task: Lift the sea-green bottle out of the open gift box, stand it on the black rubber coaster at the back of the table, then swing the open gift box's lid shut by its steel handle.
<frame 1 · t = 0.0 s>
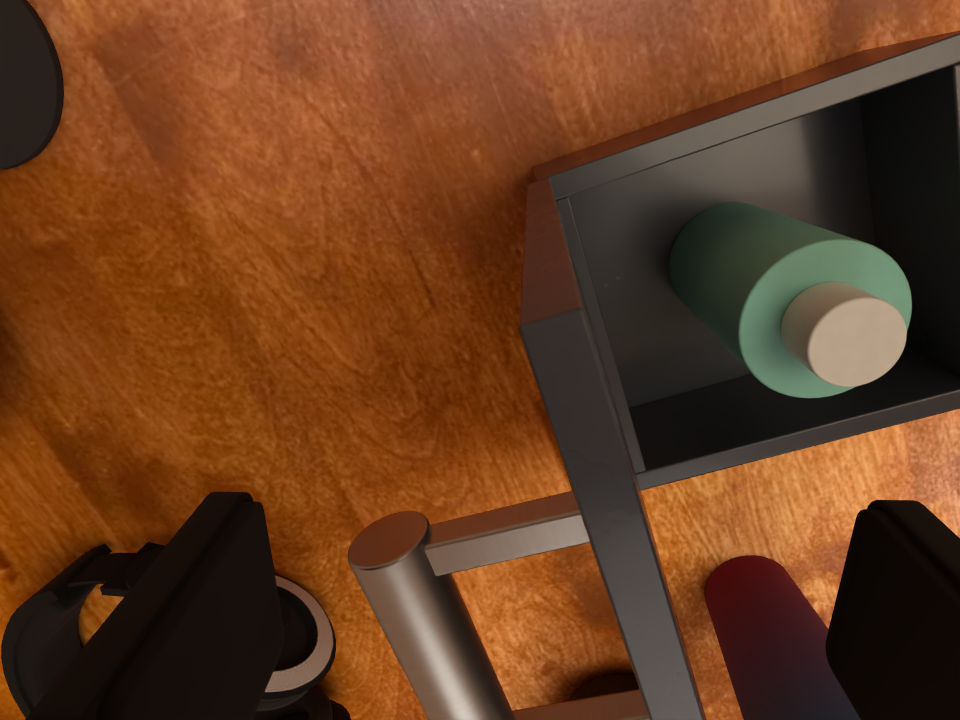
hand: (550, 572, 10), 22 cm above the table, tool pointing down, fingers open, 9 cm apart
open gift box: (721, 257, 29), on the table
cola bottle: (617, 705, 41), on the table
bottle: (727, 261, 29), point 1 cm above the table, touching open gift box
cup: (745, 587, 37), on the table
lid: (533, 480, 17), point 15 cm above the table, hinge at 92.0°
headphones: (207, 637, 40), on the table
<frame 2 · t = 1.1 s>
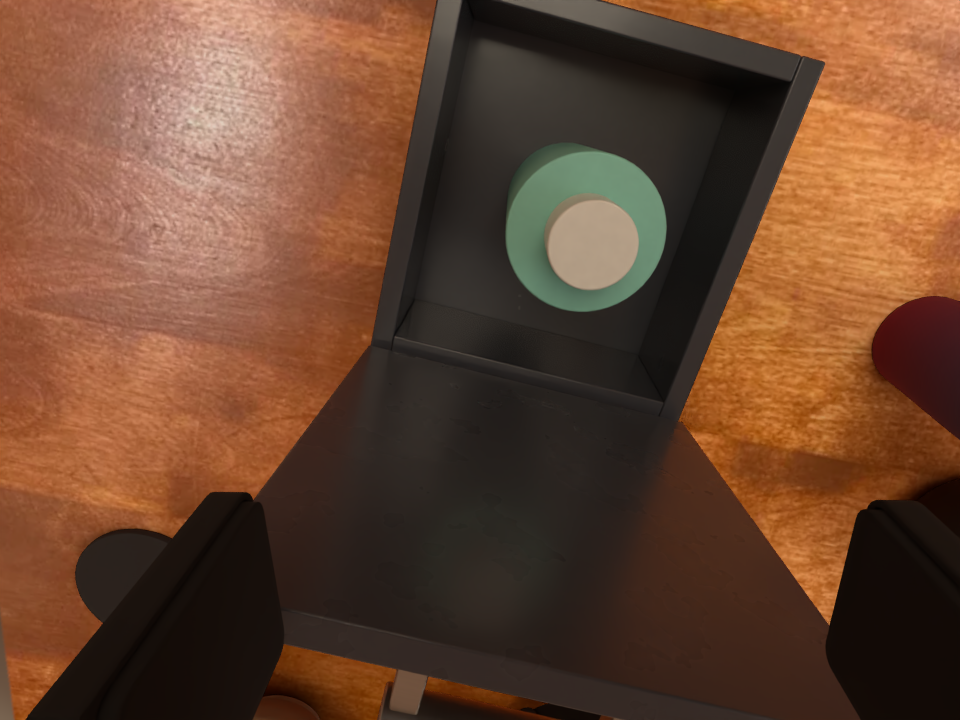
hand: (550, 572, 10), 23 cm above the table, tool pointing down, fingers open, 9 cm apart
coaster: (147, 585, 40), on the table
open gift box: (561, 199, 30), on the table
cola bottle: (954, 522, 36), on the table
bottle: (563, 202, 29), point 1 cm above the table, touching open gift box
cup: (919, 341, 32), on the table
lid: (515, 544, 19), point 15 cm above the table, hinge at 86.0°
bowl: (286, 717, 45), on the table
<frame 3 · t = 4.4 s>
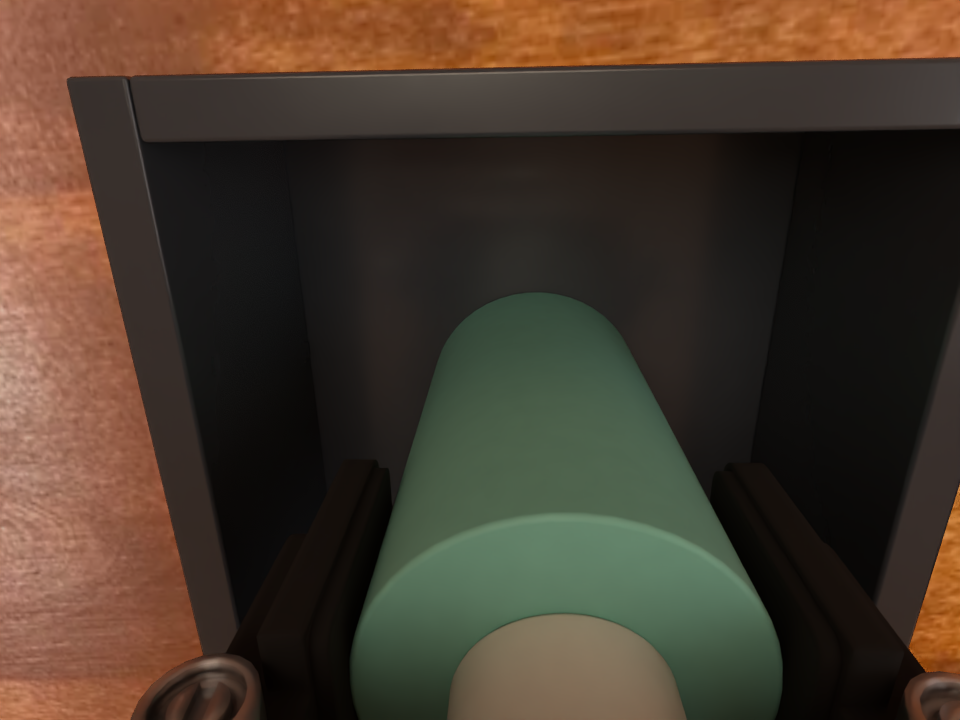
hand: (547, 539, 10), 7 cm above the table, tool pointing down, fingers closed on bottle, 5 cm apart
open gift box: (532, 375, 17), on the table
bottle: (534, 388, 16), point 1 cm above the table, touching gripper, open gift box
when the fingers open (7 cm above the table, at t = 15.8 s): bottle stays where it is, resting on coaster.
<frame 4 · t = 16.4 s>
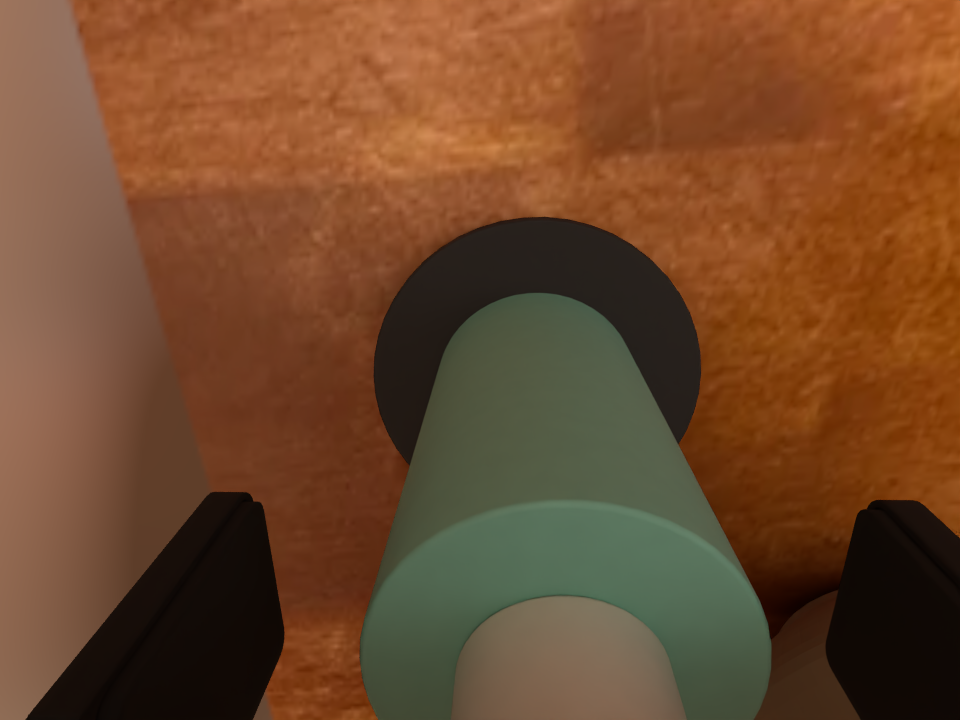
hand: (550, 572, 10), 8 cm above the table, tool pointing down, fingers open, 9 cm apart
coaster: (534, 377, 17), on the table
bottle: (535, 386, 17), resting on coaster
bowl: (843, 644, 20), on the table
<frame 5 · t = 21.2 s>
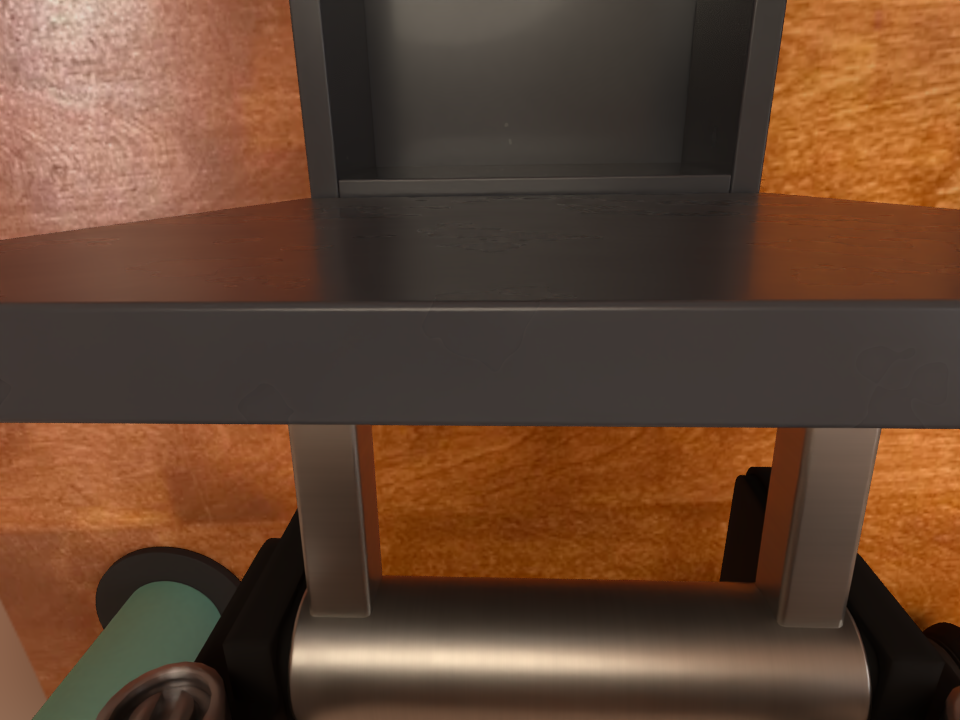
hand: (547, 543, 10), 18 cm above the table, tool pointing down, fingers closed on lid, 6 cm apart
coaster: (179, 611, 35), on the table
bottle: (175, 618, 34), resting on coaster
lid: (543, 356, 12), point 15 cm above the table, hinge at 86.0°, touching gripper
headphones: (772, 699, 35), on the table
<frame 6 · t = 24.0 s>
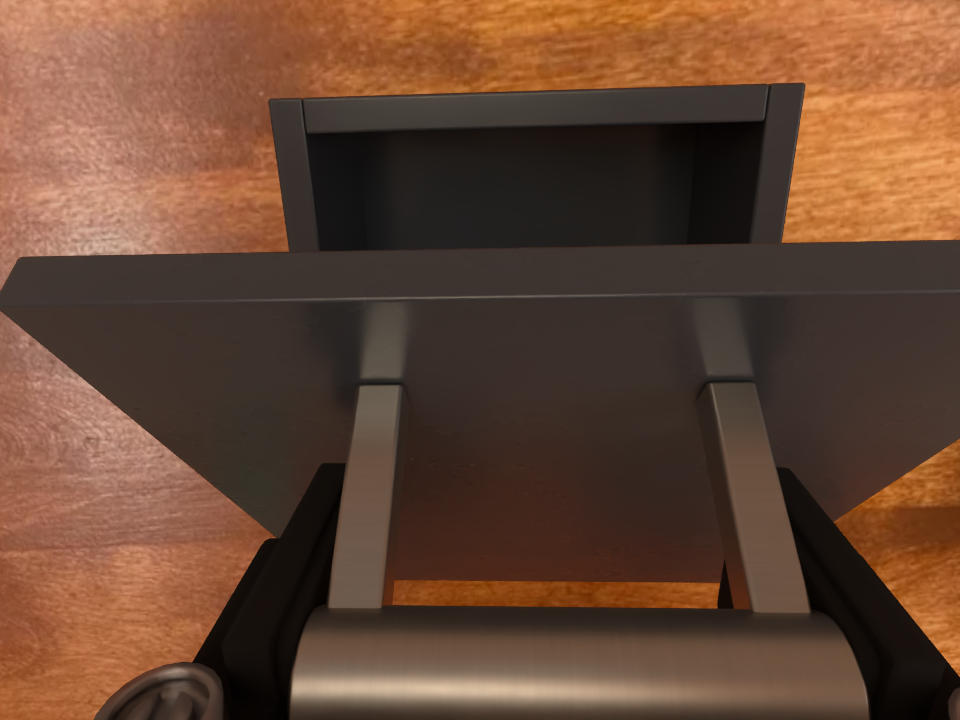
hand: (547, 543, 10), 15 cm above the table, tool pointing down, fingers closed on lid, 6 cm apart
open gift box: (524, 298, 25), on the table
lid: (541, 597, 13), point 14 cm above the table, hinge at 37.3°, touching gripper
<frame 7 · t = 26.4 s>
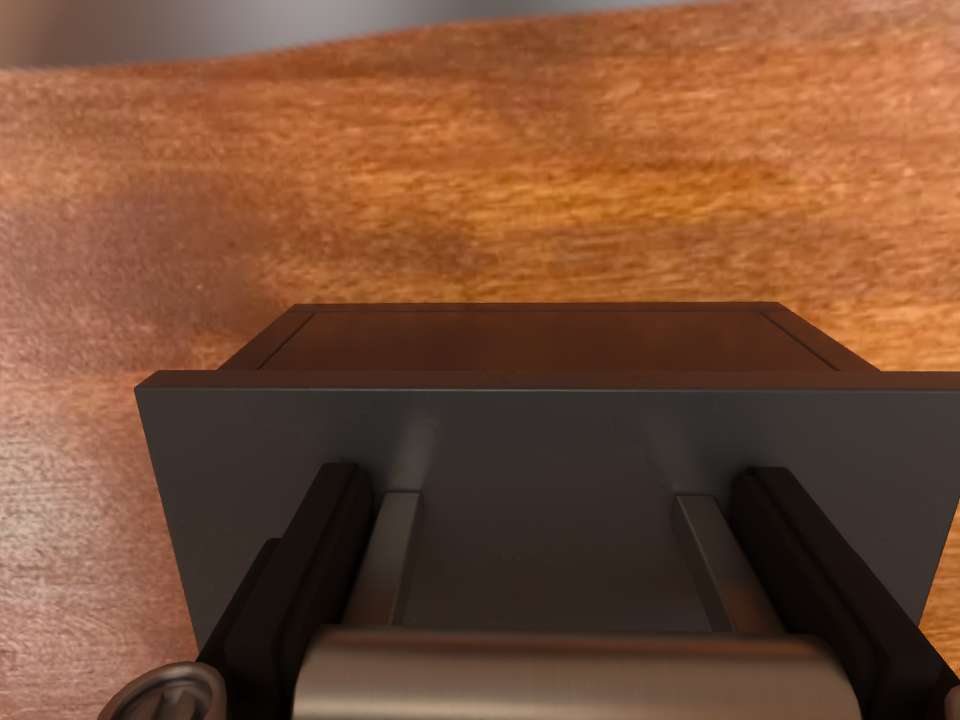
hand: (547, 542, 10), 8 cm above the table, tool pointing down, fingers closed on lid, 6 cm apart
open gift box: (528, 519, 20), on the table
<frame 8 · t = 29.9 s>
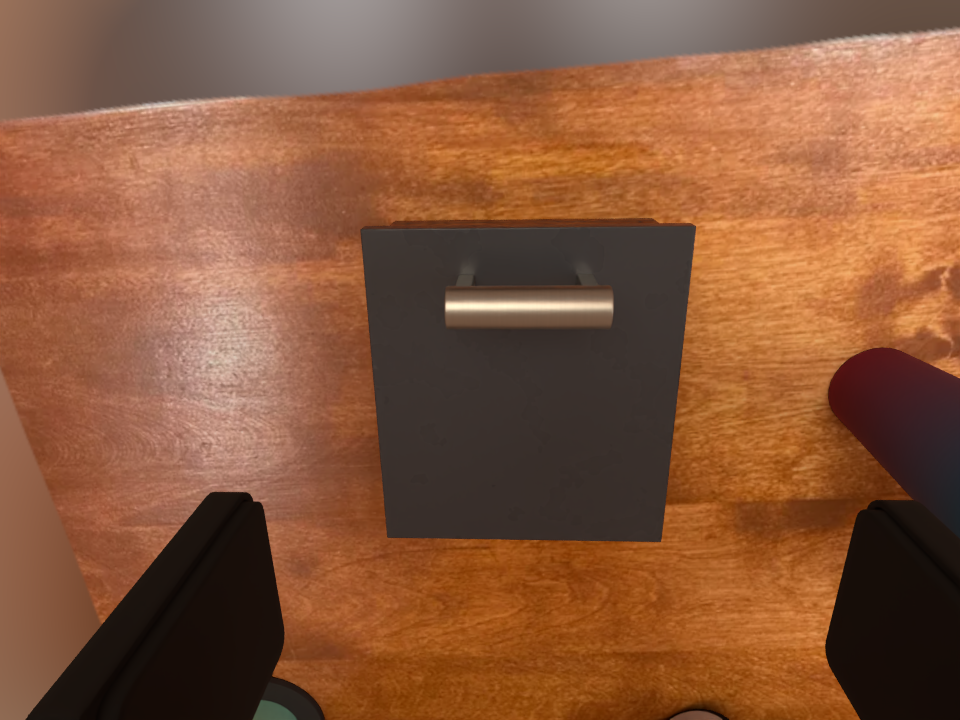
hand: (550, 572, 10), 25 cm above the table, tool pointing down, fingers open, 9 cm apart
coaster: (267, 718, 47), on the table
open gift box: (521, 349, 35), on the table
cup: (871, 386, 35), on the table
lid: (525, 418, 26), point 10 cm above the table, hinge at 0.1°
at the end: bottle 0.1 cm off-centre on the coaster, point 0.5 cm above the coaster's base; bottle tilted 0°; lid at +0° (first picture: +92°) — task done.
